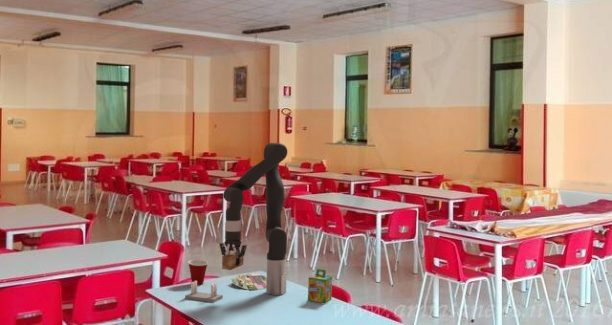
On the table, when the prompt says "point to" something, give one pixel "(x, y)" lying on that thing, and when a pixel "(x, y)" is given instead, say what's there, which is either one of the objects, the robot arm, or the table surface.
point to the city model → (250, 281)
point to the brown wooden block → (230, 261)
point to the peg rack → (203, 294)
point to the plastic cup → (198, 270)
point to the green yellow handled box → (320, 287)
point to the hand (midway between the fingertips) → (232, 264)
